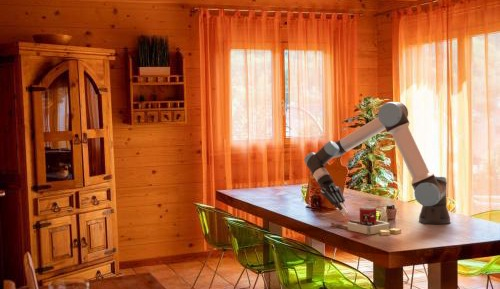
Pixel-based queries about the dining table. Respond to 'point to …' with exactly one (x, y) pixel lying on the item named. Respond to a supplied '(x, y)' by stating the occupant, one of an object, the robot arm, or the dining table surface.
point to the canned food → (368, 215)
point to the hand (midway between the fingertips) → (346, 214)
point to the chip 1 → (384, 232)
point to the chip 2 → (395, 231)
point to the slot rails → (345, 225)
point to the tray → (369, 227)
